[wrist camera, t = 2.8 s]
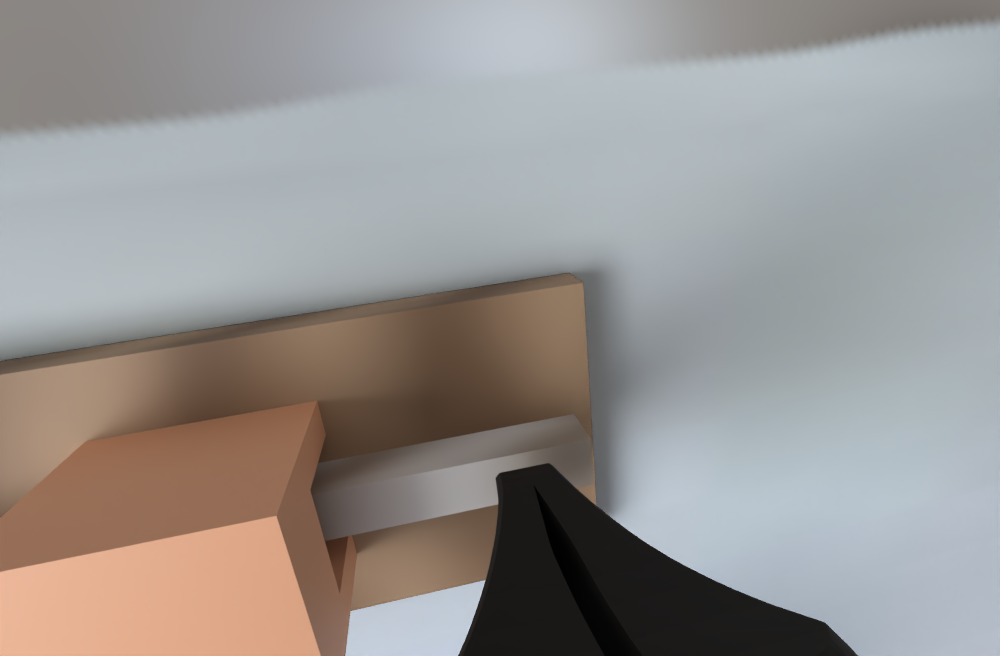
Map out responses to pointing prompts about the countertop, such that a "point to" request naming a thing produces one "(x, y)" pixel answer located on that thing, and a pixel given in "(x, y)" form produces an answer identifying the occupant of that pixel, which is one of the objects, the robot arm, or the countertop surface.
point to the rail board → (350, 413)
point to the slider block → (179, 546)
